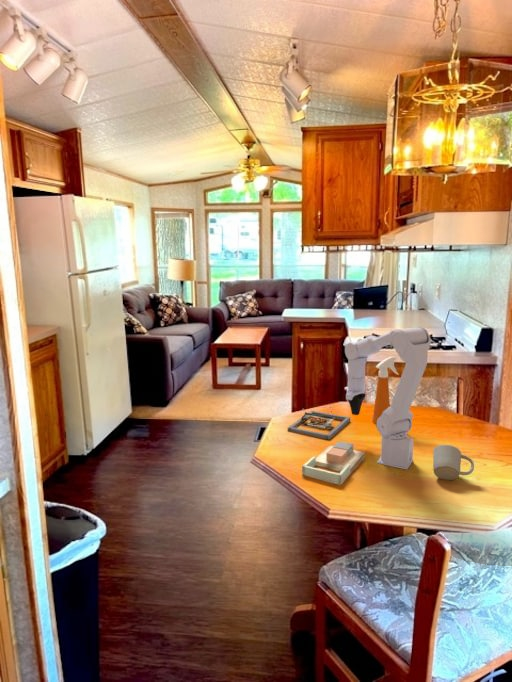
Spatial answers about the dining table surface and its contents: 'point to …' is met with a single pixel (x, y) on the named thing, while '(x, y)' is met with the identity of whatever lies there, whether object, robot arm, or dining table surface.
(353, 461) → the board
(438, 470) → the ceramic mug
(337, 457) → the tile terracotta
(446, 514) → the dining table surface
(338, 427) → the gray open frame
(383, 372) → the spray bottle
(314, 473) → the tray
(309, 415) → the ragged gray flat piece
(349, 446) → the tile slate
